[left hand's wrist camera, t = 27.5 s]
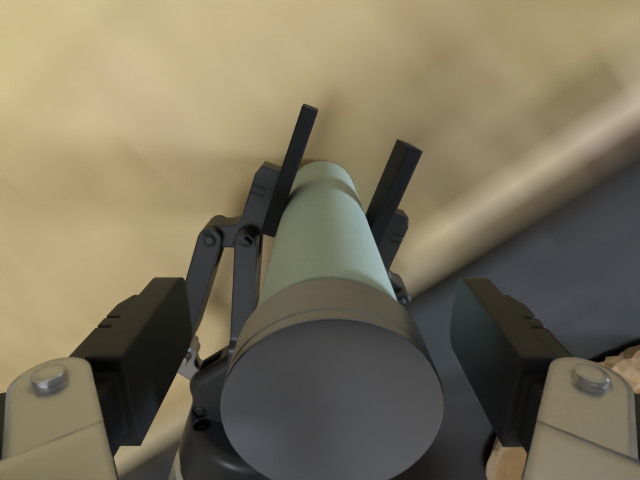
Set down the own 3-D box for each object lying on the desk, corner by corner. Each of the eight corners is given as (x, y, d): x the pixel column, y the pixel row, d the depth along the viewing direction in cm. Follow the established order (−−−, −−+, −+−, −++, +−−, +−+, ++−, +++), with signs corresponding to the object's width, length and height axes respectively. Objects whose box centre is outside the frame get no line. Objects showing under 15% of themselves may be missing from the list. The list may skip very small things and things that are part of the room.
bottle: (365, 177, 27) (458, 349, 9) (337, 233, 29) (370, 475, 11) (304, 149, 27) (281, 278, 9) (279, 208, 28) (213, 423, 10)
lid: (450, 393, 11) (475, 449, 9) (291, 455, 12) (287, 518, 10) (377, 244, 10) (391, 279, 8) (198, 327, 10) (174, 375, 9)
